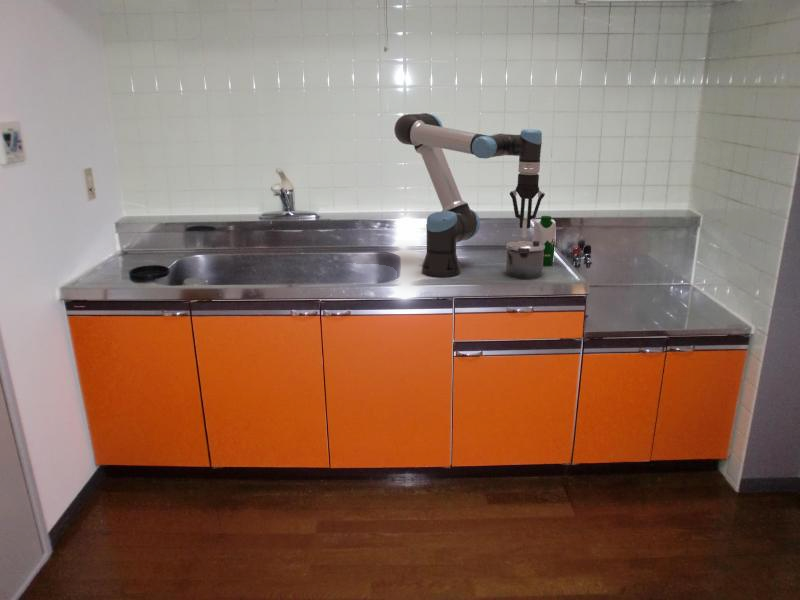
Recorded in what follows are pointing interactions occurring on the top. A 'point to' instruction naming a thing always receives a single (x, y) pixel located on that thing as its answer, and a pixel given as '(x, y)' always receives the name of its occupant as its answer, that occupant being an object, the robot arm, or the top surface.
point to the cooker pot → (524, 264)
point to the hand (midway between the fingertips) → (524, 236)
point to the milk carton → (545, 237)
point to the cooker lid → (525, 246)
